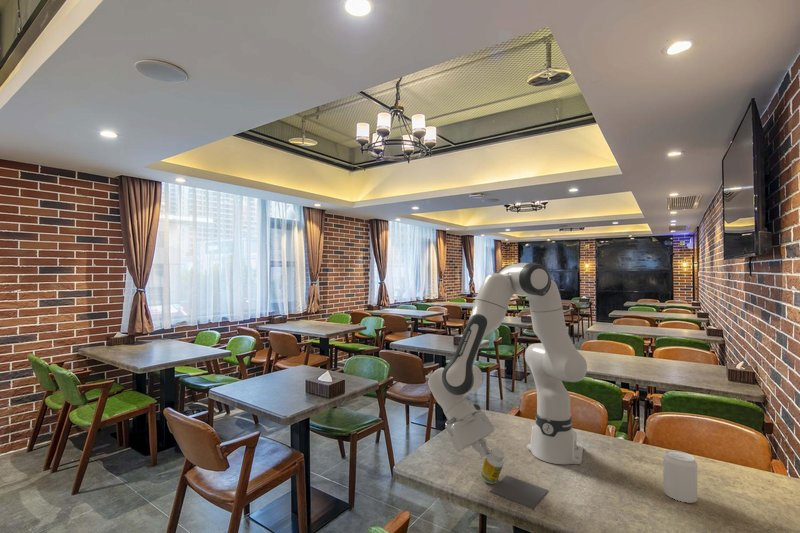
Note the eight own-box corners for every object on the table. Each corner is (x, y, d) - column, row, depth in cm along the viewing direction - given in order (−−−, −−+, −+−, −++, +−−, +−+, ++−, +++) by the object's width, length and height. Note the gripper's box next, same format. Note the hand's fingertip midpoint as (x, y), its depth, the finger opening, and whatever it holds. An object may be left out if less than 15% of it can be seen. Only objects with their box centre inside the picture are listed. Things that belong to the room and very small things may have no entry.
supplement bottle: (487, 468, 124) (496, 444, 122) (500, 481, 120) (510, 456, 118) (476, 473, 120) (486, 448, 118) (489, 486, 117) (499, 461, 114)
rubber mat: (506, 476, 123) (506, 475, 123) (548, 491, 115) (548, 490, 115) (489, 491, 114) (489, 490, 114) (533, 509, 106) (533, 508, 106)
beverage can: (698, 508, 108) (698, 464, 108) (663, 498, 112) (663, 457, 113) (695, 494, 115) (695, 453, 115) (662, 486, 119) (662, 447, 119)
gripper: (449, 417, 118) (476, 460, 111) (482, 403, 133) (507, 440, 126) (436, 427, 121) (462, 471, 114) (470, 413, 136) (494, 450, 129)
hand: (486, 455), depth 120 cm, fingers closed, pressing on supplement bottle
